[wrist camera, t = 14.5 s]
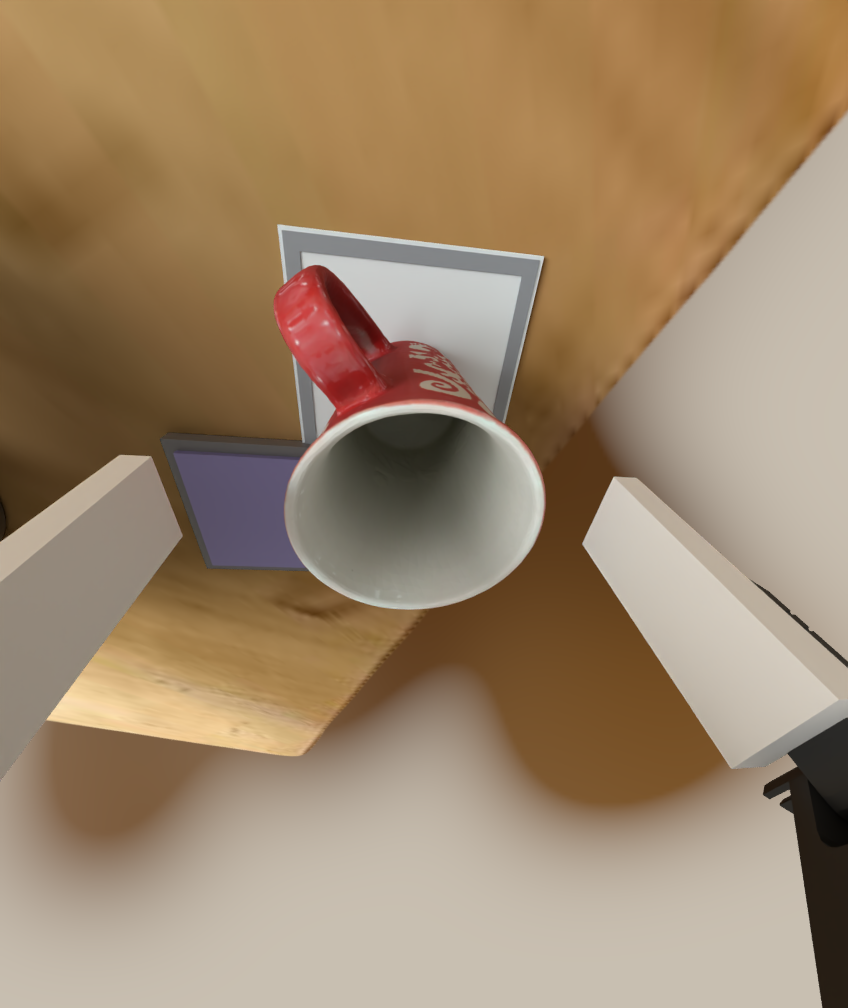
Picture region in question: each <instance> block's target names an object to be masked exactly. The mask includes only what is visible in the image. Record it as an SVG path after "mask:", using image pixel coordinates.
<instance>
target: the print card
mask: <svg viewBox="0 0 848 1008" xmlns="http://www.w3.org/2000/svg"><path fill="white" fill-rule="evenodd" d="M277 225H278V224H277ZM278 233H279V242H280V251H281V260H282V268H283V277H284V284H285V283H286V282H287V281H289V280H290V279H291V278H292V277H293V276H294V275H296V274H297V273H298V272H300V271H301V270H303V269H305V268H307V267H308V266H312V265H321V266H324V267H326V268H328V269H329V270H330V271H331V272H333V273H334V274H335V275H336V276H337V277H338V278H339V279H340V280H341V281H342V282H343V283H344V284H345V285H346V287H347V288H348V289H349V290H350V291H351V293H352V294H353V295H354V296H355V298H356V299H357V300H358V301H359V302H360V304H361V305H362V306H363V307H364V309H365V310H366V311H367V313H368V314H369V315H370V317H371V318H372V319H373V321H374V322H375V323H376V325H377V326H378V327H379V329H380V330H381V332H382V333H383V335H384V336H385V337H386V338H387V339H388V341H389V342H390V343H392V342H397V341H416V342H420V343H424V344H427V345H429V346H431V347H433V348H435V349H437V350H438V351H439V352H441V353H442V354H443V355H445V356H446V357H447V358H448V359H449V360H450V361H451V363H452V364H453V365H454V366H455V368H456V369H457V370H458V371H459V373H460V374H461V376H462V377H463V378H464V379H465V380H466V382H467V383H468V384H469V386H470V387H471V388H472V390H473V391H474V392H475V394H476V395H477V396H478V397H479V398H480V399H481V400H482V401H483V402H484V404H485V405H486V406H487V407H488V408H489V410H490V411H491V412H492V413H493V415H494V416H495V417H496V418H497V419H498V420H499V421H501V422H503V423H504V424H505V420H506V416H507V411H508V407H509V403H510V399H511V395H512V390H513V386H514V382H515V378H516V373H517V369H518V365H519V361H520V357H521V352H522V348H523V344H524V340H525V335H526V331H527V327H528V323H529V319H530V314H531V310H532V306H533V302H534V297H535V293H536V289H537V285H538V280H539V276H540V272H541V268H542V264H543V259H544V256H538V255H530V254H521V253H513V252H504V251H496V250H488V249H479V248H471V247H463V246H454V245H446V244H437V243H429V242H421V241H412V240H404V239H395V238H387V237H379V236H370V235H362V234H353V233H345V232H337V231H328V230H320V229H312V228H303V227H295V226H286V225H278ZM292 356H293V354H292ZM293 364H294V373H295V382H296V390H297V399H298V408H299V417H300V425H301V434H302V443H305V444H312V443H313V442H314V441H315V440H316V439H317V438H318V437H319V436H320V435H321V433H322V432H323V430H324V428H325V427H326V425H327V423H328V421H329V420H330V418H331V416H332V415H333V413H334V411H335V409H336V408H335V406H334V405H333V404H332V403H331V402H330V401H329V399H328V398H327V396H326V395H325V394H324V393H323V392H322V391H321V390H320V389H319V388H318V387H317V386H316V384H315V383H314V382H313V381H312V380H311V379H310V377H309V376H308V374H307V373H306V372H305V371H304V370H303V369H302V368H301V366H300V365H299V363H298V362H297V360H296V359H295V357H294V356H293Z"/></svg>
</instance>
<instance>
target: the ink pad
mask: <svg viewBox="0 0 848 1008" xmlns="http://www.w3.org/2000/svg"><path fill="white" fill-rule="evenodd" d="M160 441H161V444H162V447H163V449H164V452H165V455H166V458H167V460H168V463H169V466H170V468H171V471H172V474H173V477H174V479H175V482H176V485H177V488H178V490H179V493H180V496H181V498H182V501H183V504H184V507H185V509H186V512H187V515H188V518H189V520H190V523H191V526H192V529H193V531H194V534H195V537H196V539H197V542H198V545H199V548H200V550H201V553H202V556H203V559H204V561H205V564H206V567H207V568H211V569H248V570H285V571H309V570H308V569H307V568H306V567H305V566H304V565H303V564H302V562H301V561H300V559H299V558H298V556H297V554H296V553H295V551H294V549H293V547H292V545H291V543H290V540H289V538H288V535H287V531H286V527H285V521H284V500H285V493H286V488H287V485H288V481H289V479H290V477H291V474H292V472H293V470H294V468H295V466H296V465H297V463H298V461H299V460H300V458H301V456H302V455H303V454H304V453H305V451H306V450H307V449H308V448H309V446H310V445H311V444H305V443H302V441H298V440H281V439H265V438H249V437H233V436H217V435H200V434H184V433H167V434H165V435H164V436H163V437H161V438H160Z"/></svg>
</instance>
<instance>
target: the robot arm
mask: <svg viewBox="0 0 848 1008" xmlns="http://www.w3.org/2000/svg"><path fill="white" fill-rule="evenodd" d="M5 528H6V520H5V514H4V511H3V508H2V505H1V503H0V541H1V539H2V538H3V536H4V533H5ZM182 537H183V535H182V533H181V530H180V527H179V525H178V522H177V520H176V517H175V515H174V512H173V510H172V507H171V505H170V502H169V500H168V497H167V495H166V492H165V489H164V487H163V484H162V482H161V479H160V477H159V474H158V472H157V469H156V467H155V464H154V462H153V459H152V457H151V456H134V455H119V456H117V457H116V458H115V459H113V460H112V461H111V462H109V463H108V464H106V465H105V466H104V467H102V468H101V469H100V470H98V471H97V472H96V473H94V474H93V475H91V476H90V477H89V478H87V479H86V480H85V481H83V482H82V483H80V484H79V485H78V486H76V487H75V488H74V489H72V490H71V491H69V492H68V493H67V494H65V495H64V496H63V497H61V498H60V499H59V500H57V501H56V502H54V503H53V504H52V505H50V506H49V507H48V508H46V509H45V510H43V511H42V512H41V513H39V514H38V515H37V516H35V517H34V518H33V519H31V520H30V521H28V522H27V523H26V524H24V525H23V526H22V527H20V528H19V529H17V530H16V531H15V532H13V533H12V534H11V535H9V536H8V537H7V538H5V539H4V540H2V541H1V542H0V781H1V779H2V778H3V777H4V775H5V774H6V773H7V771H8V770H9V769H10V767H11V766H12V765H13V763H14V762H15V761H16V759H17V758H18V757H19V755H20V754H21V753H22V751H23V750H24V748H25V747H26V746H27V744H28V743H29V742H30V741H31V739H32V738H33V737H34V735H35V734H36V732H37V731H38V730H39V728H40V727H41V726H42V724H43V723H44V722H45V720H46V719H47V718H48V716H49V715H50V714H51V712H52V711H53V710H54V708H55V707H56V706H57V704H58V703H59V702H60V700H61V699H62V698H63V696H64V695H65V694H66V692H67V691H68V690H69V688H70V687H71V686H72V684H73V683H74V681H75V680H76V679H77V677H78V676H79V675H80V673H81V672H82V671H83V669H84V668H85V667H86V665H87V664H88V663H89V661H90V660H91V659H92V657H93V656H94V655H95V653H96V652H97V651H98V649H99V648H100V647H101V645H102V644H103V643H104V641H105V640H106V639H107V637H108V636H109V635H110V633H111V632H112V631H113V629H114V628H115V626H116V625H117V624H118V622H119V621H120V620H121V618H122V617H123V616H124V614H125V613H126V612H127V610H128V609H129V608H130V606H131V605H132V604H133V602H134V601H135V600H136V598H137V597H138V596H139V594H140V593H141V592H142V590H143V589H144V588H145V586H146V585H147V584H148V582H149V581H150V580H151V578H152V577H153V575H154V574H155V573H156V571H157V570H158V569H159V567H160V566H161V565H162V563H163V562H164V561H165V559H166V558H167V557H168V555H169V554H170V553H171V551H172V550H173V549H174V547H175V546H176V545H177V543H178V542H179V541H180V539H181V538H182ZM582 544H583V546H584V548H585V549H586V551H587V552H588V553H589V555H590V557H591V558H592V559H593V561H594V563H595V564H596V566H597V567H598V569H599V570H600V571H601V573H602V575H603V576H604V578H605V579H606V580H607V582H608V584H609V585H610V587H611V588H612V590H613V591H614V593H615V594H616V596H617V597H618V599H619V600H620V602H621V603H622V605H623V606H624V608H625V609H626V611H627V612H628V613H629V615H630V617H631V618H632V620H633V621H634V623H635V624H636V626H637V627H638V629H639V630H640V632H641V633H642V635H643V636H644V638H645V639H646V641H647V642H648V644H649V645H650V647H651V648H652V650H653V651H654V653H655V654H656V656H657V657H658V659H659V660H660V662H661V663H662V665H663V666H664V668H665V669H666V671H667V673H668V674H669V675H670V677H671V678H672V680H673V681H674V683H675V685H676V686H677V688H678V689H679V690H680V692H681V694H682V695H683V697H684V698H685V700H686V701H687V702H688V704H689V706H690V707H691V709H692V710H693V712H694V713H695V714H696V716H697V718H698V719H699V721H700V722H701V724H702V725H703V727H704V728H705V730H706V731H707V733H708V734H709V736H710V737H711V739H712V740H713V741H714V743H715V745H716V746H717V748H718V749H719V751H720V752H721V754H722V755H723V757H724V758H725V760H726V761H727V763H728V764H729V766H730V767H731V769H736V768H752V767H766V766H767V765H769V764H771V763H773V762H774V761H776V760H778V759H779V758H781V757H783V756H784V755H786V754H788V755H789V756H790V757H791V758H792V760H793V761H794V762H795V763H796V765H797V766H798V767H796V768H794V769H792V770H791V771H789V772H787V773H785V774H783V775H781V776H780V777H778V778H776V779H774V780H772V781H771V782H769V783H768V784H766V785H765V786H764V792H763V795H764V796H766V797H767V798H769V799H771V798H773V797H775V796H777V795H779V794H781V793H783V792H785V791H787V790H790V793H791V796H789V797H787V798H785V799H783V800H782V802H781V803H780V806H782V807H783V808H785V809H786V810H788V811H790V812H791V813H793V814H794V820H795V826H796V833H797V840H798V846H799V852H800V860H801V866H802V873H803V880H804V887H805V894H806V900H807V907H808V914H809V920H810V927H811V933H812V941H813V947H814V953H815V961H816V968H817V974H818V981H819V988H820V994H821V1001H822V1008H848V661H846V660H845V659H844V658H843V657H842V656H841V655H840V654H839V653H838V652H836V651H835V650H834V649H833V648H832V647H831V646H830V645H828V644H827V643H826V642H825V641H824V640H823V639H822V638H821V637H819V636H818V635H817V634H816V633H815V632H814V631H809V629H808V628H809V627H808V626H807V625H806V624H805V623H803V621H801V620H800V619H799V618H798V617H797V616H796V615H792V614H791V613H790V610H789V609H788V608H787V607H786V606H785V605H783V604H782V603H781V602H780V601H779V600H778V599H777V598H776V597H774V596H773V595H772V594H771V593H770V592H769V591H767V590H766V589H764V588H763V587H761V586H759V585H758V584H756V583H754V582H753V581H751V580H750V579H748V578H747V577H746V576H745V575H744V574H743V573H742V572H741V571H740V570H738V569H737V568H736V567H735V566H734V565H733V564H732V563H731V562H730V561H728V560H727V559H726V558H725V557H724V556H723V555H722V554H721V553H719V552H718V551H717V550H716V549H715V548H714V547H713V546H712V545H710V544H709V543H708V542H707V541H706V540H705V539H704V538H703V537H702V536H701V535H700V534H698V533H697V532H696V531H695V530H694V529H693V528H692V527H691V526H690V525H688V524H687V523H686V522H685V521H684V520H683V519H682V518H680V516H678V515H677V514H676V513H675V512H674V511H673V510H672V509H671V508H670V507H669V506H667V505H666V504H665V503H664V502H663V501H662V500H661V499H660V498H659V497H657V496H656V495H655V494H654V493H653V492H652V491H651V490H650V489H649V488H647V487H646V486H645V485H644V484H643V483H642V482H641V481H640V480H639V479H637V478H629V477H613V479H612V482H611V484H610V486H609V488H608V490H607V492H606V494H605V496H604V499H603V501H602V503H601V505H600V507H599V509H598V511H597V513H596V516H595V518H594V520H593V522H592V524H591V527H590V528H589V530H588V533H587V535H586V537H585V539H584V541H583V543H582Z"/></svg>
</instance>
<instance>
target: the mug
mask: <svg viewBox="0 0 848 1008" xmlns="http://www.w3.org/2000/svg"><path fill="white" fill-rule="evenodd" d="M274 314H275V319H276V322H277V325H278V327H279V330H280V332H281V334H282V336H283V338H284V340H285V342H286V344H287V346H288V347H289V349H290V351H291V352H292V354H293V356H294V357H295V359H296V360H297V362H298V363H299V365H300V366H301V368H302V369H303V370H304V371H305V372H306V373H307V374H308V376H309V377H310V379H311V380H312V381H313V382H314V383H315V384H316V386H317V387H318V388H319V389H320V390H321V391H322V392H323V393H324V394H325V395H326V396H327V398H328V399H329V401H330V402H331V403H332V404H333V405H334V406H335V408H336V409H335V411H334V413H333V415H332V416H331V418H330V420H329V421H328V423H327V425H326V427H325V428H324V430H323V432H322V433H321V435H320V436H319V437H318V438H317V439H316V440H315V441H314V442H313V443H312V444H311V445H310V446H309V448H308V449H307V450H306V451H305V453H304V454H303V455H302V456H301V458H300V460H299V461H298V463H297V465H296V466H295V468H294V470H293V472H292V474H291V477H290V479H289V481H288V485H287V488H286V493H285V500H284V521H285V527H286V531H287V535H288V538H289V540H290V543H291V545H292V547H293V549H294V551H295V553H296V554H297V556H298V558H299V559H300V561H301V562H302V564H303V565H304V566H305V567H306V568H307V569H308V570H309V571H310V572H311V573H312V574H313V575H314V576H315V577H316V578H317V579H319V580H320V581H321V582H323V583H324V584H325V585H327V586H328V587H330V588H331V589H333V590H335V591H337V592H338V593H340V594H342V595H344V596H346V597H348V598H350V599H353V600H356V601H359V602H362V603H366V604H369V605H373V606H377V607H383V608H392V609H427V608H435V607H441V606H446V605H450V604H454V603H457V602H460V601H463V600H466V599H468V598H471V597H473V596H475V595H477V594H479V593H481V592H484V591H486V590H488V589H489V588H491V587H492V586H494V585H496V584H497V583H499V582H500V581H501V580H503V579H504V578H505V577H507V576H508V575H509V574H510V573H511V572H512V571H513V570H514V569H516V568H517V566H518V565H519V564H520V563H521V562H522V561H523V560H524V558H525V557H526V556H527V554H528V553H529V552H530V550H531V549H532V547H533V545H534V543H535V542H536V540H537V538H538V535H539V533H540V530H541V527H542V524H543V520H544V514H545V507H546V493H545V485H544V481H543V476H542V473H541V470H540V468H539V465H538V463H537V461H536V459H535V457H534V456H533V454H532V452H531V451H530V449H529V448H528V446H527V445H526V444H525V443H524V442H523V440H522V439H521V438H520V437H519V436H518V435H517V434H516V433H515V432H514V431H513V430H512V429H511V428H509V427H508V426H507V425H506V424H504V423H503V422H501V421H499V420H498V419H497V418H496V417H495V416H494V415H493V413H492V412H491V411H490V410H489V408H488V407H487V406H486V405H485V404H484V402H483V401H482V400H481V399H480V398H479V397H478V396H477V395H476V394H475V392H474V391H473V390H472V388H471V387H470V386H469V384H468V383H467V382H466V380H465V379H464V378H463V377H462V376H461V374H460V373H459V371H458V370H457V369H456V368H455V366H454V365H453V364H452V363H451V361H450V360H449V359H448V358H447V357H446V356H445V355H443V354H442V353H441V352H439V351H438V350H437V349H435V348H433V347H431V346H429V345H427V344H424V343H420V342H416V341H397V342H392V343H390V342H389V341H388V339H387V338H386V337H385V336H384V335H383V333H382V332H381V330H380V329H379V327H378V326H377V325H376V323H375V322H374V321H373V319H372V318H371V317H370V315H369V314H368V313H367V311H366V310H365V309H364V307H363V306H362V305H361V304H360V302H359V301H358V300H357V299H356V298H355V296H354V295H353V294H352V293H351V291H350V290H349V289H348V288H347V287H346V285H345V284H344V283H343V282H342V281H341V280H340V279H339V278H338V277H337V276H336V275H335V274H334V273H333V272H331V271H330V270H329V269H328V268H326V267H324V266H321V265H312V266H308V267H307V268H305V269H303V270H301V271H300V272H298V273H297V274H296V275H294V276H293V277H292V278H291V279H290V280H289V281H287V282H286V283H285V284H284V285H283V286H282V287H281V288H280V289H279V290H278V292H277V293H276V295H275V298H274Z"/></svg>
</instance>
